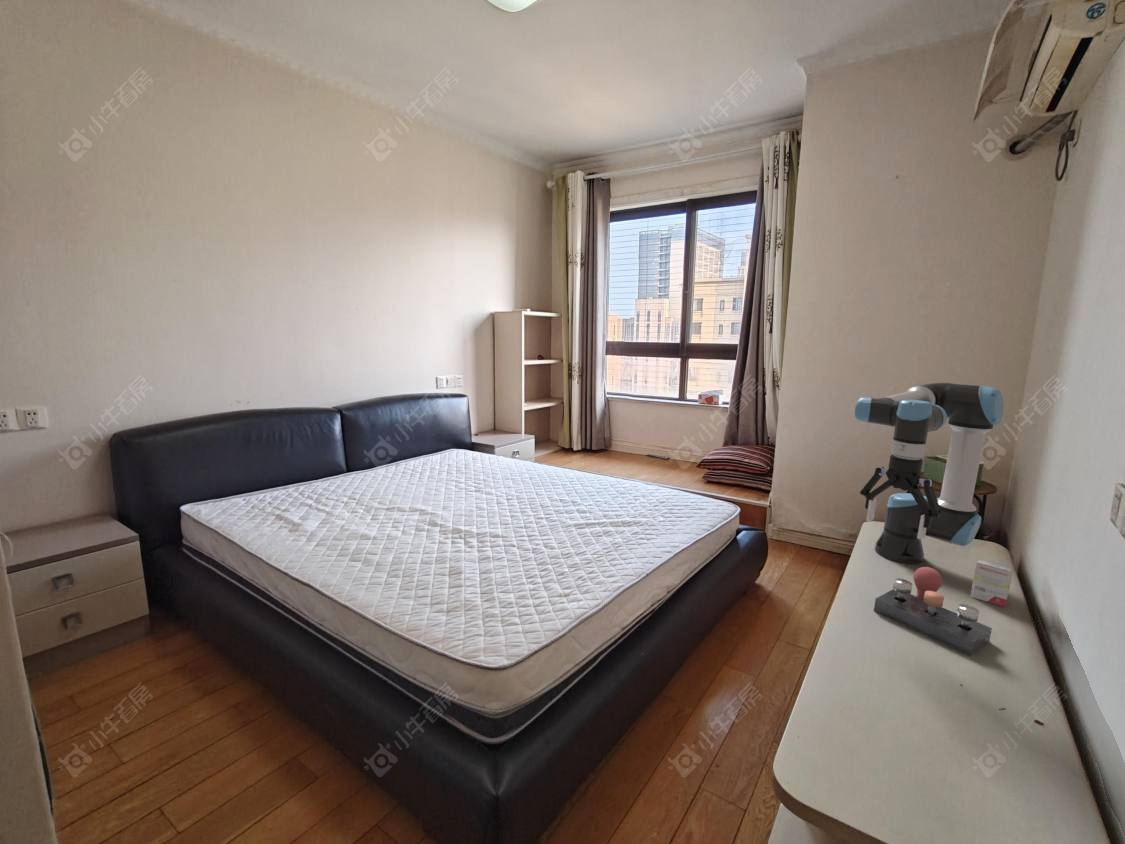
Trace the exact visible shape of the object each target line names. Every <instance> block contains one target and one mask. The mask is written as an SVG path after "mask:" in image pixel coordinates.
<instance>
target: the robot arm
mask: <svg viewBox="0 0 1125 844" xmlns="http://www.w3.org/2000/svg"><path fill="white" fill-rule="evenodd" d="M1004 402H1005V401H1004V397H1003V393H1002V391H1000V389H998V388H996V387H991V386H986V385H975V384H974V385H973V384H964V383H963V384H962V383H951V382H935V383H934V382H932V383H928V384H927V383H926V384H920V385H916V386H912V387H910V388H908V389H907V390H906V391H905V392H900V393H896V394H892V395H887V396H885V397H879V398H876V397H875V398H873V397H871V396H870V397H860V398H858V400H857V402H856V403H855V406H854V411H853V412H854V418H856V420H857V421H860V422H864V423H866V424H874V425H875V424H876V425H881V426H886V427H887V426H888V427H889V426H890V427H893V428H894V431H893V437H892V444H891V451H890V453H891V455H890V456H889V461H888V469H886V468H885V467H884V466H880V467H876V468H875V470H874V473H873V475H872V477H871V478H870V479H869V480H868V482H867V483H866V484H865V485H864V486H863V488H862V489H860V492H859V494H860V495H861V496H864V498H865V499H866V500H865V505H864V507H865V509H866V510H867V511H866V520H865V521H866V522H868V523H870V522H872V521H874V520H875V513H876V508H877V502H878V501H877V500H878V499H877V498H876V497H877V496H879V495H880V494H881V493H882V492H885V491H886V490H887V489H888V488H890V487H893V488H895V489H900V490H902V491H905V492H899V493H894V494H892V495H890V496H889V498H888V501H887V504H886V512H885V518H884V524H883V530H882V533H881V534H880V535H879V537H878V538H877V540H876V543H875V546H874V551H875V552H876V553H877V554H878V555H880V556H882V557H883V558H885V559H889V560H891V561H895V562H898V563H903V564H921V563H923V562H924V558H925V552H924V551H925V550H924V547H923V543H922V539H925V538H926V537H929V538H932V539H936V540H939V541H942V542H945V543H949V544H952V545H956V546H961V547H966V546H969V545H970V544H971V543H972V542H973V540H974V539H975V537H976V535H977V533H978V531H979V529H980V527H981V524H982V516H981V515H979V514H976V513H977V507H976V506H975V504H973V499H974V498H973V497H974V493H975V488H976V483H977V479H978V477H977V476H978V472H979V468H980V463H981V459H982V458H981V457H982V452H983V447H984V442H985V438H986V437H985V436H986V434H987V433H989V432H991V431H992V430H993V429H994V428H993V427H994V426H996V425H1000V424H1001V422H1002V419H1003V416H1004V415H1003V414H1004V410H1005V409H1004V407H1005V406H1004ZM947 420H948V423H947ZM946 423H947V424H948V426H949V427H950V428H951V429H952V431H951V437H950V442H949V446H948V452H947V459H946V463H945V469H944V474H943V480H942V484H941V489H940V496H939V497H937V494H936V492H935V488H934V479H932V478H921V473H922V467H923V462H924V461H923V458H924V457H925V451H926V444H927V438H928V433H929V432H930V433H931V432H935V431H938V430H939V429H940V428H942V427H943V426H944V425H945V424H946ZM885 475H886V477H887V479H888V480H886V481H884V482H883V483H882V484H881V485H879V486H878V487H876V488H875V489H874V487H875V486H876V484H877V483H878V482H879V481H880V480H881V478H882V477H883V476H885ZM919 484H921V486H922V487H923V491H924V493H925V495H924V494H923V493H922V492H921V488H920V486H918V485H919ZM872 489H874V490H872ZM871 490H872V491H871ZM906 491H908V493H907V492H906Z"/></svg>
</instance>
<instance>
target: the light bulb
mask: <svg viewBox="0 0 1125 844" xmlns="http://www.w3.org/2000/svg"><path fill="white" fill-rule="evenodd" d="M912 579H913V582H914V584H915V587H916V589H917V591H916V594H915V596H916V597H919V598H921V599H923V600H924V595H925V591H934V592H937V593H938V591H939V590H940V588H941V587H942V585H943V577H942V575H941V573H939V571H937V570H936V569H934V568H932V567H929V566H923V567H922V566H921V567H919V568H917V569H916V570H915V571H914V573H913V578H912Z"/></svg>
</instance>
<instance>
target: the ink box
mask: <svg viewBox="0 0 1125 844" xmlns="http://www.w3.org/2000/svg"><path fill="white" fill-rule="evenodd" d="M1013 571H1014V567H1013V566H1009V565H1005V564H1002V563H998V562H995V561H991V560H988V559H984V558H978V559H977V561H976V565H975V570H974V575H973V581H972V586H971V591H970V598H973V599H978V600H980V601H984V602H987V603H991V604H993V605H996V606H1001V607H1003V608H1004V607H1007V601H1008V597H1009V596H1008V595H1009V593H1010V592H1009V591H1010V586H1011V582H1012V578H1013V577H1012V576H1013Z"/></svg>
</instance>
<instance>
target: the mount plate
mask: <svg viewBox="0 0 1125 844" xmlns="http://www.w3.org/2000/svg"><path fill="white" fill-rule="evenodd" d="M897 596H898V592H897V591H895V590H894V589H893V588H892V589H891V590H889V591H887V592H885V593H883V594H882V595H879V596H877V597H876V598H875V599H874V606H873V612H876V613H878V614H880V615H882V616H884V617H887V618H888V619H890V620H893V621H895V622H897V623H899V624H901V625H904V626H905V627H908V628H910V629H912V630H913V631H917V632H918V633H920V634H922V635H925V636H927V637H929V638H931V639H933V640H935V641H938V642H940V643H941V644H943V645H946V646H948V647H950V648H951V649H952V648H953V649H954V650H956V651H959V652H961V653H963V654H965V655H967V656H969V657H972V656H973V655H974V654H975V653H977V652H978V651H979V650H980V649H982V648H983V647H984V646H985V645H987V644H988V643H989V642H990V639H991V635H992V629H993V627H990V626H988V625H985V624H983V623H981V622H978V621H977V622H970V624H969V629H968V631H967V630H965V629H962V628H961V624H962V619H961V618H959V617H958V616H957V612H955V611H952V610H949V609H947V608H944V607H943V606H942V607H936V609H935V614H934V616H933V615H930V614H928V613H927V612H928V607H929V605H928V604H926V603H925V602H924V601H923V599H921V598H919V597H916V595H913V594H912V593H910V594H905V595H904V600H903V602H900V601H898V600H897Z"/></svg>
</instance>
